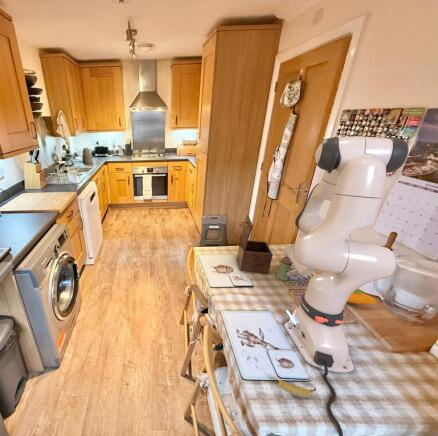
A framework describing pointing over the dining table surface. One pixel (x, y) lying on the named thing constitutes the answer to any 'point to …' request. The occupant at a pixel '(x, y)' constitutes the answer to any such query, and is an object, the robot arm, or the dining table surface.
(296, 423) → the dining table surface
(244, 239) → the lid
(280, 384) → the banana
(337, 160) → the robot arm
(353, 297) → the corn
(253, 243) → the box
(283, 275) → the spice jar
